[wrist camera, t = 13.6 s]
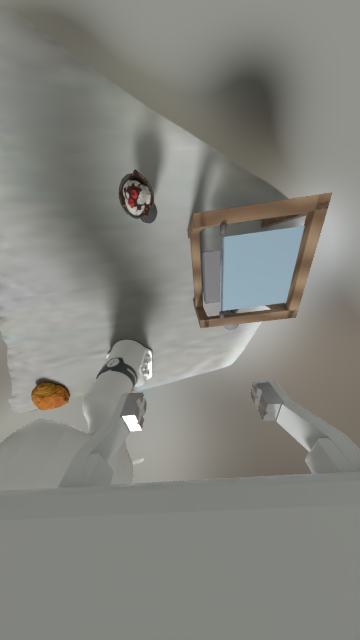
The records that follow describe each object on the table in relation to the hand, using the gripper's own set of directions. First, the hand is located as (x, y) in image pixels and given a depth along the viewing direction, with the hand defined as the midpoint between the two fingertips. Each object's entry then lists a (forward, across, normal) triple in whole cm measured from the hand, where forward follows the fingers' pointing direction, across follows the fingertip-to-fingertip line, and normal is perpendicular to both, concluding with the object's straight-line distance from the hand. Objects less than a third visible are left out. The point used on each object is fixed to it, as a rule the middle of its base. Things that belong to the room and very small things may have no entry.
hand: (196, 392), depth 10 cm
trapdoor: (+23, -13, -4) cm, 27 cm away
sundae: (+37, +7, -20) cm, 43 cm away
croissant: (+37, +68, +44) cm, 89 cm away
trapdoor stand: (+37, -14, -4) cm, 40 cm away
